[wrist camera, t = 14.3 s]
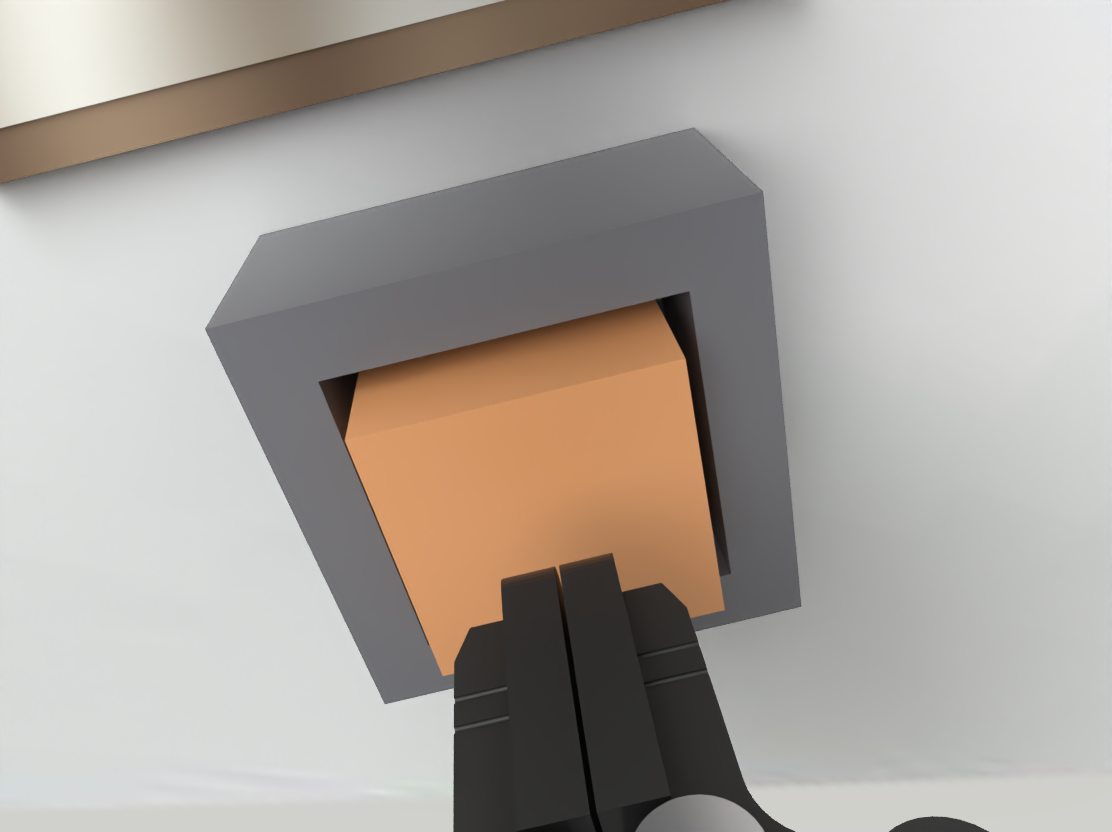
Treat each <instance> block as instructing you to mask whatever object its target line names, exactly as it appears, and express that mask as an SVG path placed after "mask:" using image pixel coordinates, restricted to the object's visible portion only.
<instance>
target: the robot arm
mask: <svg viewBox="0 0 1112 832" xmlns="http://www.w3.org/2000/svg"><path fill="white" fill-rule="evenodd" d="M559 569H560V577H561V582H560V578H559V575H558V572H557V569H556V567H555V566H554V567H550V568H546V569H542V570H537V571H533V572H529V573H525V574H521V575H516V576H512V577H508V578H504V579H502V580H501V598H502V613H503V620H501V621H497V622H493V623H488V624H484V625H480V626H475V627H471V628H470V629H469V631H468V633H467V635H466V637H465V640H464V642H463V644H462V646H461V648H460V650H459V653H458V655H457V657H456V659H455V661H454V699H455V704H454V728H455V734H454V832H795V831H793V830H791V829H788V828H786V827H784V826H783V825H781V824H780V823H778V822H777V821H775V820H774V819H772V818H771V817H770V816H769V815H768V814H767V813H765V812H764V811H763V810H762V809H761V808H760V806H758V804H757V803H756V802H755V801H754V799H753V798H752V796H751V794H750V793H749V791H748V790H747V787H746V785H745V783H744V780H743V778H742V775H741V771H740V768H739V765H738V762H737V759H736V756H735V753H734V750H733V747H732V744H731V741H730V738H729V735H728V732H727V729H726V726H725V723H724V719H723V716H722V713H721V710H720V707H719V704H718V701H717V698H716V695H715V692H714V689H713V686H712V683H711V680H710V677H709V675H708V672H707V667H706V664H705V661H704V658H703V655H702V652H701V649H700V647H699V644H698V640H697V637H696V634H695V631H694V628H693V625H692V622H691V619H690V615H689V612H688V609H687V607H686V606H685V605H684V604H683V603H682V602H681V601H680V600H679V599H678V598H677V597H676V596H675V595H674V594H673V593H672V592H671V591H670V590H669V589H668V588H667V587H666V586H665V585H664V584H663V583H658V584H653V585H649V586H645V587H641V588H636V589H632V590H628V591H624V592H622V590H621V586H620V582H619V578H618V574H617V569H616V565H615V561H614V557H613V553H608V554H604V555H600V556H596V557H592V558H587V559H583V560H579V561H575V562H570V563H566V564H562V565H559ZM561 583H562V585H561ZM889 832H988V831H986V830H984V829H982V828H980V827H978V826H976V825H974V824H971V823H968V822H965V821H962V820H958V819H953V818H948V817H933V816H932V817H923V818H917V819H913V820H910V821H907V822H904V823H902V824H900V825H898V826H896V827H895V828H893V829H892V830H891V831H889Z"/></svg>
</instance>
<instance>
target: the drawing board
mask: <svg viewBox="0 0 1112 832" xmlns="http://www.w3.org/2000/svg"><path fill="white" fill-rule="evenodd" d="M723 1H727V0H0V183H4V182H8V181H12V180H16V179H20V178H24V177H28V176H32V175H36V174H40V173H44V172H48V171H52V170H56V169H60V168H64V167H68V166H72V165H76V164H80V163H84V162H88V161H92V160H96V159H99V158H103V157H107V156H111V155H115V154H119V153H123V152H127V151H131V150H135V149H139V148H143V147H147V146H151V145H155V144H159V143H163V142H167V141H171V140H175V139H179V138H183V137H187V136H191V135H195V134H199V133H203V132H207V131H211V130H215V129H219V128H223V127H227V126H230V125H234V124H238V123H242V122H246V121H250V120H254V119H258V118H262V117H266V116H270V115H274V114H278V113H282V112H286V111H290V110H294V109H298V108H302V107H306V106H310V105H314V104H318V103H322V102H326V101H330V100H334V99H338V98H342V97H346V96H350V95H354V94H358V93H361V92H365V91H369V90H373V89H377V88H381V87H385V86H389V85H393V84H397V83H401V82H405V81H409V80H413V79H417V78H421V77H425V76H429V75H433V74H437V73H441V72H445V71H449V70H453V69H457V68H461V67H465V66H469V65H473V64H477V63H481V62H485V61H489V60H492V59H496V58H500V57H504V56H508V55H512V54H516V53H520V52H524V51H528V50H532V49H536V48H540V47H544V46H548V45H552V44H556V43H560V42H564V41H568V40H572V39H576V38H580V37H584V36H588V35H592V34H596V33H600V32H604V31H608V30H612V29H616V28H620V27H623V26H627V25H631V24H635V23H639V22H643V21H647V20H651V19H655V18H659V17H663V16H667V15H671V14H675V13H679V12H683V11H687V10H691V9H695V8H699V7H703V6H707V5H711V4H715V3H719V2H723Z"/></svg>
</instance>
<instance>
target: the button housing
mask: <svg viewBox="0 0 1112 832" xmlns="http://www.w3.org/2000/svg"><path fill="white" fill-rule="evenodd" d="M651 300H656V302H657V304H658V306H659V308H660V310H661V311H662V313H663V315H664V317H665V319H666V321H667V323H668V325H669V327H670V329H671V331H672V333H673V335H674V337H675V339H676V341H677V343H678V345H679V347H680V349H681V351H682V353H683V355H684V356H685V359H686V365H687V371H688V378H689V384H690V390H691V397H692V403H693V410H694V416H695V422H696V429H697V435H698V442H699V448H700V454H701V461H702V467H703V473H704V480H705V486H706V493H707V499H708V505H709V512H710V518H711V524H712V531H713V537H714V544H715V550H716V556H717V563H718V569H719V576H720V582H721V588H722V595H723V601H724V607H725V610H723V611H719V612H714V613H710V614H706V615H702V616H697V617H693V618H690V619H691V622H692V625H693V628H694V631H699V630H703V629H708V628H712V627H716V626H721V625H725V624H729V623H733V622H738V621H742V620H746V619H750V618H755V617H759V616H763V615H768V614H772V613H776V612H780V611H785V610H789V609H793V608H797V607H801V599H800V588H799V577H798V566H797V555H796V545H795V534H794V523H793V512H792V501H791V490H790V480H789V469H788V458H787V447H786V436H785V426H784V415H783V404H782V393H781V382H780V372H779V361H778V350H777V339H776V328H775V317H774V307H773V296H772V285H771V274H770V263H769V253H768V242H767V231H766V220H765V209H764V199H763V191H762V190H760V189H759V188H758V187H757V186H756V185H755V184H754V183H753V182H752V181H751V180H750V179H749V178H748V177H746V176H745V175H744V174H743V173H742V172H741V171H740V170H739V169H738V168H737V167H736V166H735V165H733V164H732V163H731V162H730V161H729V160H728V159H727V158H726V157H725V156H724V155H723V154H722V153H721V152H719V151H718V150H717V149H716V148H715V147H714V146H713V145H712V144H711V143H710V142H709V141H708V140H707V139H705V138H704V137H703V136H702V135H701V134H700V133H699V132H698V131H697V130H696V129H695V128H691V129H687V130H683V131H679V132H675V133H671V134H667V135H663V136H659V137H655V138H651V139H647V140H643V141H639V142H635V143H631V144H627V145H623V146H619V147H615V148H610V149H606V150H602V151H598V152H594V153H590V154H586V155H582V156H578V157H574V158H570V159H566V160H562V161H558V162H554V163H550V164H546V165H542V166H538V167H534V168H530V169H526V170H522V171H518V172H514V173H510V174H506V175H502V176H498V177H494V178H490V179H486V180H482V181H478V182H474V183H470V184H466V185H462V186H458V187H454V188H450V189H446V190H442V191H437V192H433V193H429V194H425V195H421V196H417V197H413V198H409V199H405V200H401V201H397V202H393V203H389V204H385V205H381V206H377V207H373V208H369V209H365V210H361V211H357V212H353V213H349V214H345V215H341V216H337V217H333V218H329V219H325V220H321V221H317V222H313V223H309V224H305V225H301V226H297V227H293V228H289V229H285V230H281V231H277V232H273V233H268V234H264V235H260V236H259V238H258V240H257V242H256V243H255V245H254V247H253V248H252V250H251V252H250V254H249V255H248V257H247V259H246V260H245V262H244V264H243V265H242V267H241V269H240V271H239V272H238V274H237V276H236V277H235V279H234V281H233V282H232V284H231V286H230V288H229V289H228V291H227V293H226V294H225V296H224V298H223V299H222V301H221V303H220V305H219V306H218V308H217V310H216V311H215V313H214V315H213V317H212V318H211V320H210V322H209V323H208V325H207V327H206V328H205V330H206V332H207V334H208V336H209V338H210V340H211V342H212V344H213V347H214V349H215V351H216V353H217V355H218V357H219V359H220V361H221V363H222V365H223V367H224V369H225V372H226V374H227V376H228V378H229V380H230V382H231V384H232V386H233V388H234V390H235V392H236V395H237V397H238V399H239V401H240V403H241V405H242V407H243V409H244V411H245V413H246V415H247V417H248V420H249V422H250V424H251V426H252V428H253V430H254V432H255V434H256V436H257V438H258V440H259V442H260V445H261V447H262V449H263V451H264V453H265V455H266V457H267V459H268V461H269V463H270V465H271V468H272V470H273V472H274V474H275V476H276V478H277V480H278V482H279V484H280V486H281V488H282V490H283V493H284V495H285V497H286V499H287V501H288V503H289V505H290V507H291V509H292V511H293V513H294V515H295V518H296V520H297V522H298V524H299V526H300V528H301V530H302V532H303V534H304V536H305V538H306V541H307V543H308V545H309V547H310V549H311V551H312V553H313V555H314V557H315V559H316V561H317V563H318V566H319V568H320V570H321V572H322V574H323V576H324V578H325V580H326V582H327V584H328V586H329V588H330V591H331V593H332V595H333V597H334V599H335V601H336V603H337V605H338V607H339V609H340V611H341V614H342V616H343V618H344V620H345V622H346V624H347V626H348V628H349V630H350V632H351V634H352V636H353V639H354V641H355V643H356V645H357V647H358V649H359V651H360V653H361V655H362V657H363V659H364V661H365V664H366V666H367V668H368V670H369V672H370V674H371V676H372V678H373V680H374V682H375V684H376V687H377V689H378V691H379V693H380V695H381V697H382V699H383V701H384V703H385V704H388V703H392V702H396V701H400V700H405V699H409V698H413V697H418V696H422V695H426V694H430V693H435V692H439V691H443V690H447V689H452V688H454V674H450V675H446V676H442V673H441V671H440V668H439V666H438V664H437V661H436V659H435V656H434V654H433V652H432V649H431V647H430V644H429V642H428V640H427V637H426V635H425V632H424V630H423V628H422V625H421V623H420V620H419V618H418V615H417V613H416V611H415V608H414V606H413V603H412V601H411V599H410V596H409V594H408V591H407V589H406V587H405V584H404V582H403V579H402V577H401V575H400V572H399V570H398V567H397V565H396V563H395V560H394V558H393V555H392V553H391V551H390V548H389V546H388V543H387V541H386V539H385V536H384V534H383V531H382V529H381V527H380V524H379V522H378V519H377V517H376V515H375V512H374V510H373V507H372V505H371V503H370V500H369V498H368V495H367V493H366V491H365V488H364V486H363V483H362V481H361V479H360V476H359V474H358V471H357V469H356V467H355V464H354V462H353V459H352V457H351V455H350V452H349V450H348V447H347V445H346V443H345V437H346V432H347V428H348V423H349V418H350V413H351V408H352V403H353V398H354V393H355V388H356V383H357V378H358V374H359V372H360V371H364V370H368V369H372V368H376V367H380V366H384V365H389V364H393V363H397V362H401V361H405V360H409V359H413V358H417V357H421V356H425V355H430V354H434V353H438V352H442V351H446V350H450V349H454V348H458V347H462V346H466V345H471V344H475V343H479V342H483V341H487V340H491V339H495V338H499V337H503V336H507V335H512V334H516V333H520V332H524V331H528V330H532V329H536V328H540V327H544V326H548V325H553V324H557V323H561V322H565V321H569V320H573V319H577V318H581V317H585V316H589V315H594V314H598V313H602V312H606V311H610V310H614V309H618V308H622V307H626V306H630V305H634V304H639V303H643V302H647V301H651Z"/></svg>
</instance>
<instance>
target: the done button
mask: <svg viewBox="0 0 1112 832" xmlns="http://www.w3.org/2000/svg"><path fill="white" fill-rule="evenodd" d="M345 443H346V445H347V447H348V450H349V452H350V455H351V457H352V459H353V462H354V464H355V467H356V469H357V471H358V474H359V476H360V479H361V481H362V483H363V486H364V488H365V491H366V493H367V495H368V498H369V500H370V503H371V505H372V507H373V510H374V512H375V515H376V517H377V519H378V522H379V524H380V527H381V529H382V531H383V534H384V536H385V539H386V541H387V543H388V546H389V548H390V551H391V553H392V555H393V558H394V560H395V563H396V565H397V567H398V570H399V572H400V575H401V577H402V579H403V582H404V584H405V587H406V589H407V591H408V594H409V596H410V599H411V601H412V603H413V606H414V608H415V611H416V613H417V615H418V618H419V620H420V623H421V625H422V628H423V630H424V632H425V635H426V637H427V640H428V642H429V644H430V647H431V649H432V652H433V654H434V656H435V659H436V661H437V664H438V666H439V668H440V671H441V673H442V676H446V675H450V674H454V661H455V659H456V657H457V655H458V653H459V650H460V648H461V646H462V644H463V642H464V640H465V637H466V635H467V633H468V631H469V629H470V628H471V627H475V626H480V625H484V624H488V623H493V622H497V621H501V620H503V613H502V598H501V580H502V579H504V578H508V577H512V576H516V575H521V574H525V573H529V572H533V571H537V570H542V569H546V568H550V567H554V566H555V567H556V569H557V572H558V575H559V578H560V582H561V577H560V569H559V565H562V564H566V563H570V562H575V561H579V560H583V559H587V558H592V557H596V556H600V555H604V554H608V553H613V557H614V561H615V565H616V569H617V574H618V578H619V582H620V586H621V590H622V592H624V591H628V590H632V589H636V588H641V587H645V586H649V585H653V584H658V583H663V584H664V585H665V586H666V587H667V588H668V589H669V590H670V591H671V592H672V593H673V594H674V595H675V596H676V597H677V598H678V599H679V600H680V601H681V602H682V603H683V604H684V605H685V606H686V607H687V609H688V612H689V615H690V618H693V617H697V616H702V615H706V614H710V613H714V612H719V611H723V610H725V607H724V601H723V595H722V588H721V582H720V576H719V569H718V563H717V556H716V550H715V544H714V537H713V531H712V524H711V518H710V512H709V505H708V499H707V493H706V486H705V480H704V473H703V467H702V461H701V454H700V448H699V442H698V435H697V429H696V422H695V416H694V410H693V403H692V397H691V390H690V384H689V378H688V371H687V365H686V359H685V356H684V355H683V353H682V351H681V349H680V347H679V345H678V343H677V341H676V339H675V337H674V335H673V333H672V331H671V329H670V327H669V325H668V323H667V321H666V319H665V317H664V315H663V313H662V311H661V310H660V308H659V306H658V304H657V302H656V300H651V301H647V302H643V303H639V304H634V305H630V306H626V307H622V308H618V309H614V310H610V311H606V312H602V313H598V314H594V315H589V316H585V317H581V318H577V319H573V320H569V321H565V322H561V323H557V324H553V325H548V326H544V327H540V328H536V329H532V330H528V331H524V332H520V333H516V334H512V335H507V336H503V337H499V338H495V339H491V340H487V341H483V342H479V343H475V344H471V345H466V346H462V347H458V348H454V349H450V350H446V351H442V352H438V353H434V354H430V355H425V356H421V357H417V358H413V359H409V360H405V361H401V362H397V363H393V364H389V365H384V366H380V367H376V368H372V369H368V370H364V371H360V372H359V374H358V378H357V383H356V388H355V393H354V398H353V403H352V408H351V413H350V418H349V423H348V428H347V432H346V437H345ZM561 585H562V583H561Z"/></svg>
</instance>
